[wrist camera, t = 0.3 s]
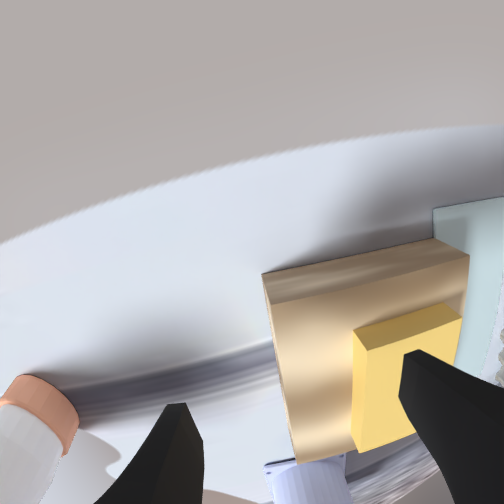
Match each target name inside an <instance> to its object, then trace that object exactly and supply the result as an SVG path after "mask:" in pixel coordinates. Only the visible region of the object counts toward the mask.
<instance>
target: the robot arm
mask: <svg viewBox="0 0 504 504" xmlns="http://www.w3.org/2000/svg"><path fill="white" fill-rule="evenodd" d="M398 398H399V400H400V402H401V404H402V407H403V409H404V411H405V413H406V415H407V417H408V419H409V421H410V422H411V424H412V426H413V427H414V429H415V430H416V432H417V433H418V435H419V436H420V438H421V439H422V441H423V443H424V444H425V446H426V447H427V449H428V450H429V452H430V453H431V455H432V456H433V458H434V460H435V461H436V463H437V465H438V466H439V468H440V470H441V472H442V474H443V476H444V478H445V481H446V483H447V485H448V487H449V490H450V492H451V495H452V497H453V500H454V503H455V504H504V388H501V387H498V386H496V385H493V384H491V383H488V382H486V381H484V380H481V379H479V378H477V377H474V376H472V375H470V374H468V373H466V372H464V371H462V370H460V369H458V368H456V367H454V366H452V365H450V364H448V363H446V362H444V361H442V360H440V359H438V358H436V357H434V356H432V355H431V354H429V353H427V352H424V351H422V350H420V349H417V350H414V351H412V352H409V353H406V354H404V357H403V365H402V373H401V380H400V387H399V394H398ZM346 453H347V452H345V453H342V454H339V455H335V456H331V457H328V458H324V459H320V460H316V461H312V462H308V463H303V464H299V465H297V463H296V460H292V461H287V462H282V463H277V464H271V465H266V466H264V467H263V472H264V475H265V478H266V481H267V484H268V487H269V490H270V493H271V496H272V499H273V502H274V504H354V502H353V499H352V496H351V494H350V491H349V488H348V485H347V482H346V479H345V466H346ZM203 480H204V450H203V440H202V438H201V436H200V434H199V432H198V429H197V427H196V425H195V423H194V421H193V418H192V416H191V414H190V412H189V409H188V407H187V405H186V403H177V404H167V406H166V407H165V409H164V410H163V412H162V414H161V415H160V417H159V419H158V420H157V422H156V424H155V425H154V427H153V429H152V430H151V432H150V433H149V435H148V437H147V438H146V440H145V441H144V443H143V444H142V446H141V447H140V449H139V450H138V452H137V453H136V455H135V456H134V458H133V459H132V460H131V462H130V463H129V464H128V466H127V467H126V468H125V470H124V471H123V472H122V474H121V475H120V476H119V477H118V478H117V480H116V481H115V482H114V483H113V485H111V487H110V488H109V489H108V490H107V491H106V492H105V493H104V494H103V495H102V496H101V497H100V498H99V499H98V500H97V501H96V502H95V503H94V504H202V493H203Z"/></svg>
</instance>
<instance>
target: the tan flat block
mask: <svg viewBox="0 0 504 504" xmlns="http://www.w3.org/2000/svg"><path fill="white" fill-rule="evenodd" d="M469 264H470V255H469V254H466V253H464V252H462V251H460V250H458V249H456V248H454V247H452V246H450V245H448V244H446V243H444V242H442V241H440V240H438V239H435V238H430V239H425V240H421V241H416V242H412V243H408V244H403V245H399V246H394V247H390V248H385V249H381V250H376V251H372V252H367V253H362V254H358V255H353V256H348V257H344V258H339V259H334V260H330V261H325V262H320V263H315V264H310V265H306V266H301V267H296V268H291V269H286V270H281V271H276V272H271V273H266V274H261V275H262V281H263V287H264V292H265V298H266V303H267V309H268V315H269V320H270V326H271V332H272V337H273V343H274V349H275V354H276V360H277V366H278V372H279V377H280V383H281V389H282V395H283V400H284V406H285V412H286V418H287V424H288V429H289V433H290V437H291V442H292V446H293V450H294V454H295V458H296V463H297V465H299V464H303V463H308V462H312V461H316V460H320V459H324V458H328V457H331V456H335V455H339V454H342V453H345V452H349V451H352V450H355V449H357V447H356V445H355V442H354V440H353V438H352V435H351V433H350V432H351V414H352V386H353V330H355V329H358V328H362V327H365V326H369V325H373V324H376V323H380V322H383V321H386V320H390V319H393V318H396V317H399V316H403V315H406V314H409V313H412V312H415V311H418V310H421V309H424V308H427V307H430V306H433V305H436V304H439V303H442V302H444V303H445V304H446V305H447V306H449V307H450V308H451V309H453V310H454V311H455V312H456V313H458V314H459V315H460V316H462V317H463V315H464V308H465V301H466V293H467V285H468V275H469ZM462 321H463V318H462ZM461 327H462V324H461ZM460 332H461V330H460ZM459 337H460V335H459ZM458 342H459V340H458ZM457 347H458V345H457ZM456 352H457V350H456ZM455 356H456V354H455ZM454 361H455V359H454ZM453 365H454V363H453Z"/></svg>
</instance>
